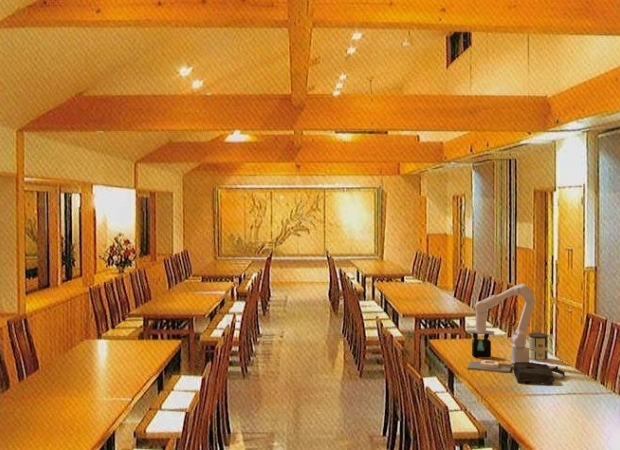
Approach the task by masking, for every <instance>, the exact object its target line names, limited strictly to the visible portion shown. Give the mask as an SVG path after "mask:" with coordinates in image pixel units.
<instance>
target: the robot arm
mask: <svg viewBox="0 0 620 450" xmlns="http://www.w3.org/2000/svg"><path fill="white" fill-rule="evenodd" d="M512 296H518V297H519V296H521V297H522V299H523V300H524V306H523V307H522V312H521V316H520V318H519V320H518V321H519V322H518V325H517V328H516V330H515V331H514V334H513V335H511V342H512V345H511V360H510V364H512V365H514V364H515V362H530V361H531V360H530V358H529V347H526V344H527V340H526V339H527V330H528V327H529V324H530V320H531V317H532V314H533V311H534V307H535V304H536V300H535V297H534V293H533V290H532V288H531V287H529V286H528V285H526V283H518V284H517V285H514V286H512V287H510V288H508V289H507V290H505V291H503V292H501V293H500V294H497V295H496V294H493V295H492V294H490V295H489V296H488V297H487V298H484V299H481V301H480V300H479V301H476V303H475V305H474V308H475V329H467V334H470V335H471V334H472V338H473V339H474V340H475V343H476V347H478V339H479V338H478V337H479V335H483V339H484V348H485V347H486V342H487V339H489V337H490V336H495V330H487V310H490V309H491V308H494V307H495V306H497V305H499V304H500V302H501V301H503V300H505V299H508V298H509V297H512Z"/></svg>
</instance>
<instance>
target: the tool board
mask: <svg viewBox="0 0 620 450" xmlns="http://www.w3.org/2000/svg"><path fill="white" fill-rule="evenodd" d="M512 368H513V364H511V363H510V364H509V363H500V360H499V361H498V360H492V359H491V360H490V359H485V360H484V359H482V360H481V361H474V360H473V361H472V360H471V361H469V364H468V365H467V367H466V370H473V371H482V370H483V371H484V372H495V373H496V372H497V373H506V374H510V373H511V371H512Z"/></svg>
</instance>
